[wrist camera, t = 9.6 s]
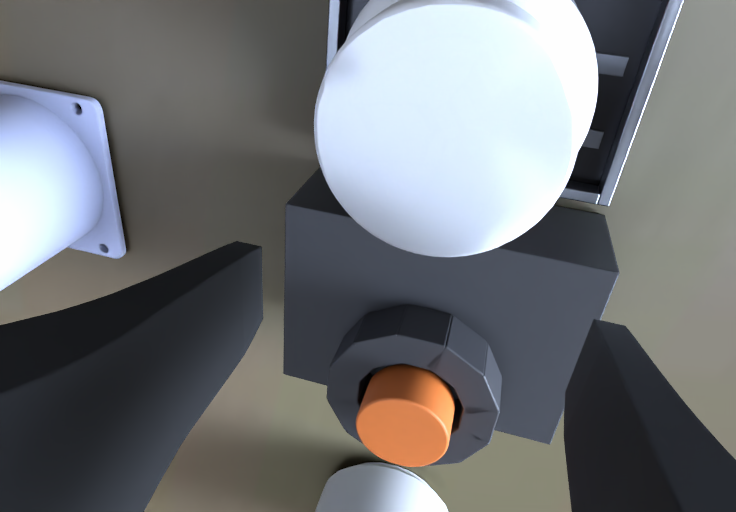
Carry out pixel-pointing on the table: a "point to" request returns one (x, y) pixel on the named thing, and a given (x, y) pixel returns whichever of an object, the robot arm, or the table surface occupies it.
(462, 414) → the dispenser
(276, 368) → the table surface
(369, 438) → the button
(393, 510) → the can
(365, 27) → the pill bottle
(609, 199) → the drip tray
